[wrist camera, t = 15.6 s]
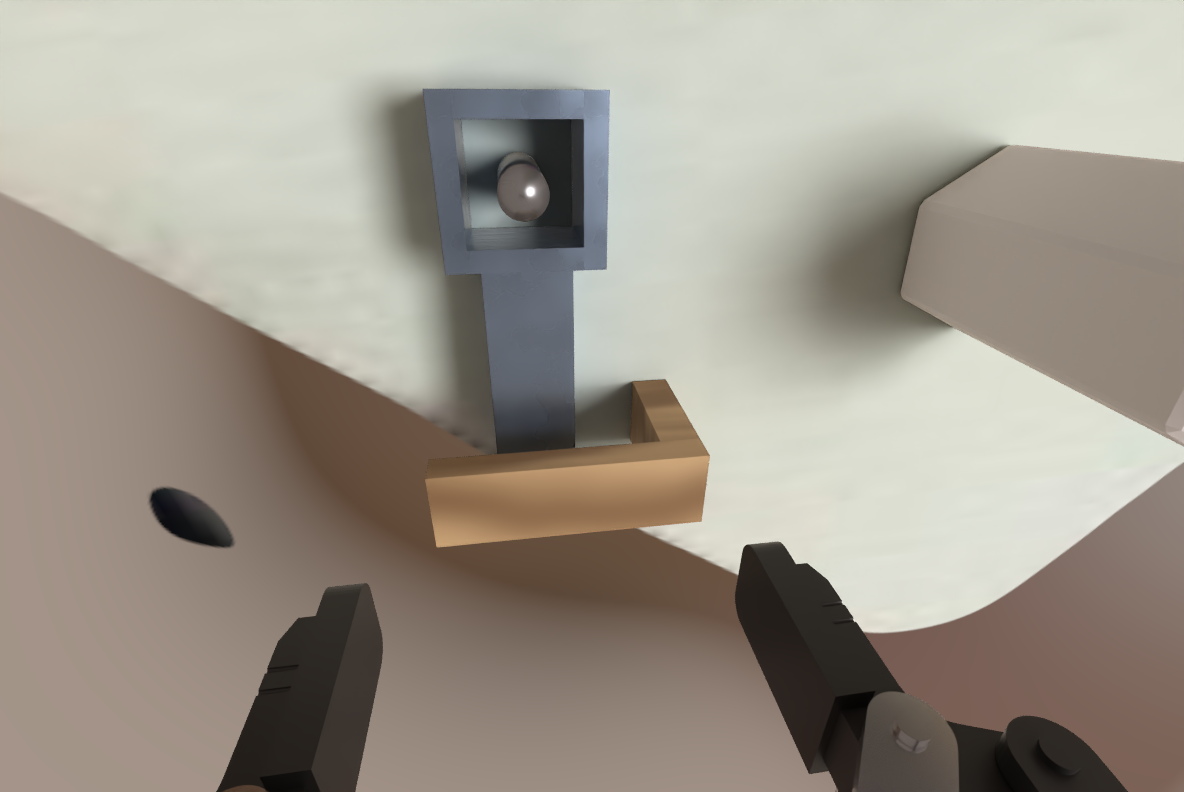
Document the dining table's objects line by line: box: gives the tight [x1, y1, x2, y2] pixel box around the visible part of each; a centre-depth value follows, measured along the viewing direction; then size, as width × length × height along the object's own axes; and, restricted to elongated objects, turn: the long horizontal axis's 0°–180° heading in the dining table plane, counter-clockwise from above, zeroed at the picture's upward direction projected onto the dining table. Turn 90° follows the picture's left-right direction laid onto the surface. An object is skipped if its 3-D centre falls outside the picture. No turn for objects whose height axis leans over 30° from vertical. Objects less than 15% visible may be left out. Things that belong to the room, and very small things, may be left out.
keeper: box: [425, 380, 710, 547], centre depth 30 cm, size 4×13×8 cm, turn 90°
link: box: [423, 89, 610, 454], centre depth 28 cm, size 20×7×4 cm, turn 0°
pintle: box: [497, 152, 550, 221], centre depth 24 cm, size 2×2×6 cm
